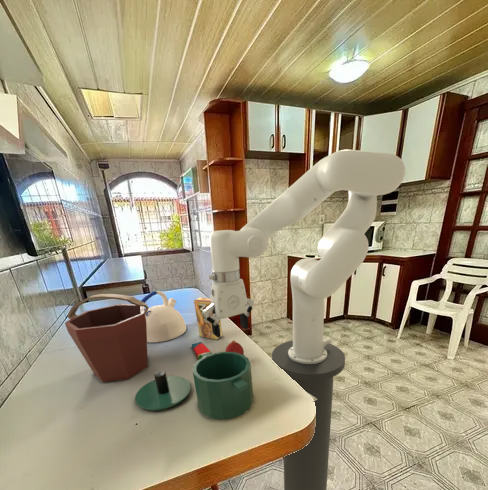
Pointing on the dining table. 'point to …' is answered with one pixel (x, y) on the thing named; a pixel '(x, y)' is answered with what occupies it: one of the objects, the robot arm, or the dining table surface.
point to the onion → (234, 347)
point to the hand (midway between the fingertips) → (231, 331)
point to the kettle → (163, 320)
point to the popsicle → (200, 349)
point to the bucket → (111, 337)
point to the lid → (163, 392)
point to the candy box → (203, 324)
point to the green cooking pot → (223, 384)
